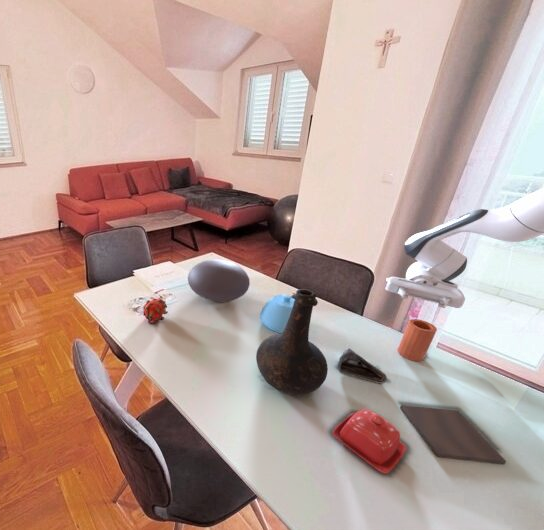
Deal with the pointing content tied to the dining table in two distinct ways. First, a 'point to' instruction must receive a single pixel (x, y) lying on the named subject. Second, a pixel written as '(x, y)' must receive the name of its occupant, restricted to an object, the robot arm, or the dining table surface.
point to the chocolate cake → (359, 367)
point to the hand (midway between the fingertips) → (423, 300)
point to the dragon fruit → (154, 309)
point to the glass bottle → (293, 352)
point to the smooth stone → (218, 280)
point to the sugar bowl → (277, 312)
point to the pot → (416, 339)
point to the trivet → (451, 434)
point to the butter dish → (371, 439)
